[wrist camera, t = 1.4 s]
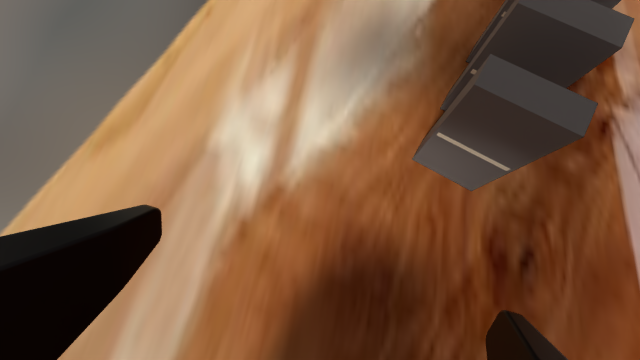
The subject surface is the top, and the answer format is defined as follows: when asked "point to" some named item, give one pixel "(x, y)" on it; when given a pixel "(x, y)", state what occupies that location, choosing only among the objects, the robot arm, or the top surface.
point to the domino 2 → (502, 124)
